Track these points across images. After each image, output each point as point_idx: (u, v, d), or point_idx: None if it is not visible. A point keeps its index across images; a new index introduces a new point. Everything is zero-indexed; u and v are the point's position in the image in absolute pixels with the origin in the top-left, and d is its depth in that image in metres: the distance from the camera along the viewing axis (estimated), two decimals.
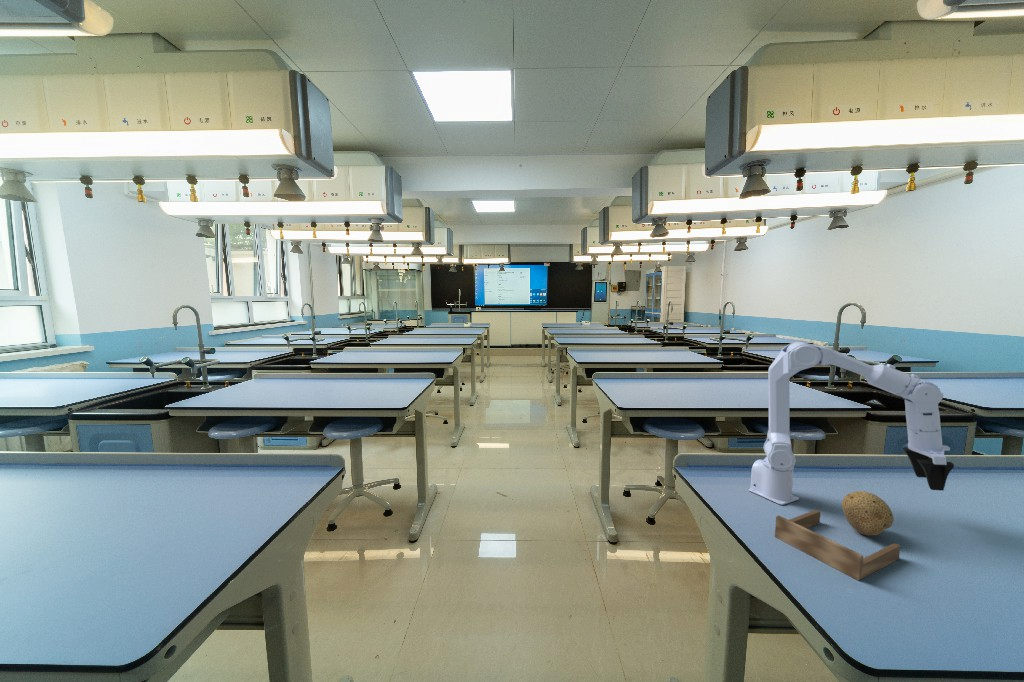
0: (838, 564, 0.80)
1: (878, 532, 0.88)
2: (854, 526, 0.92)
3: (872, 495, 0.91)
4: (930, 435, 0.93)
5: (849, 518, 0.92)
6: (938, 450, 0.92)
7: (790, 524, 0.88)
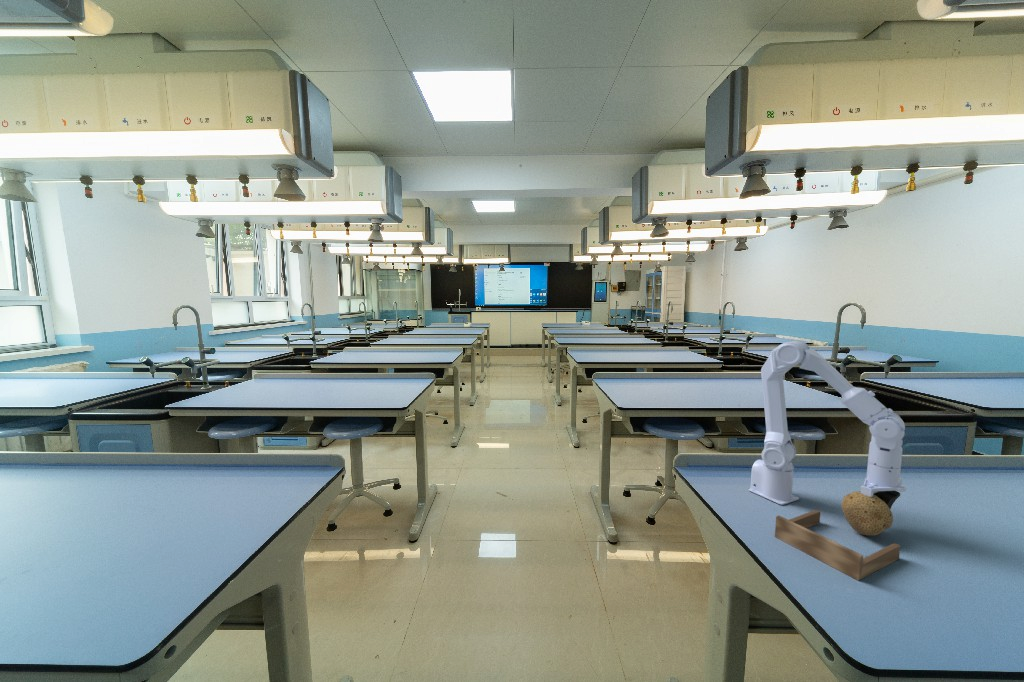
0: (838, 564, 0.80)
1: (877, 532, 0.88)
2: (853, 527, 0.92)
3: None
4: (878, 469, 0.92)
5: (848, 518, 0.92)
6: (883, 486, 0.92)
7: (790, 524, 0.88)
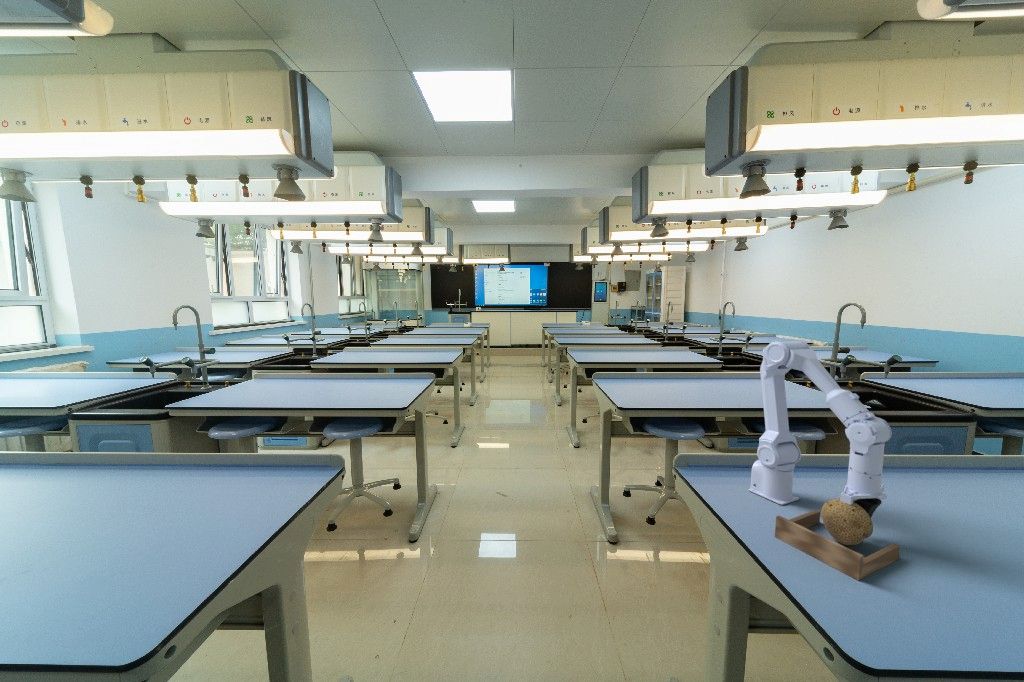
0: (838, 564, 0.80)
1: (857, 542, 0.84)
2: (833, 536, 0.89)
3: None
4: (859, 476, 0.89)
5: (828, 527, 0.89)
6: (864, 493, 0.88)
7: (790, 524, 0.88)
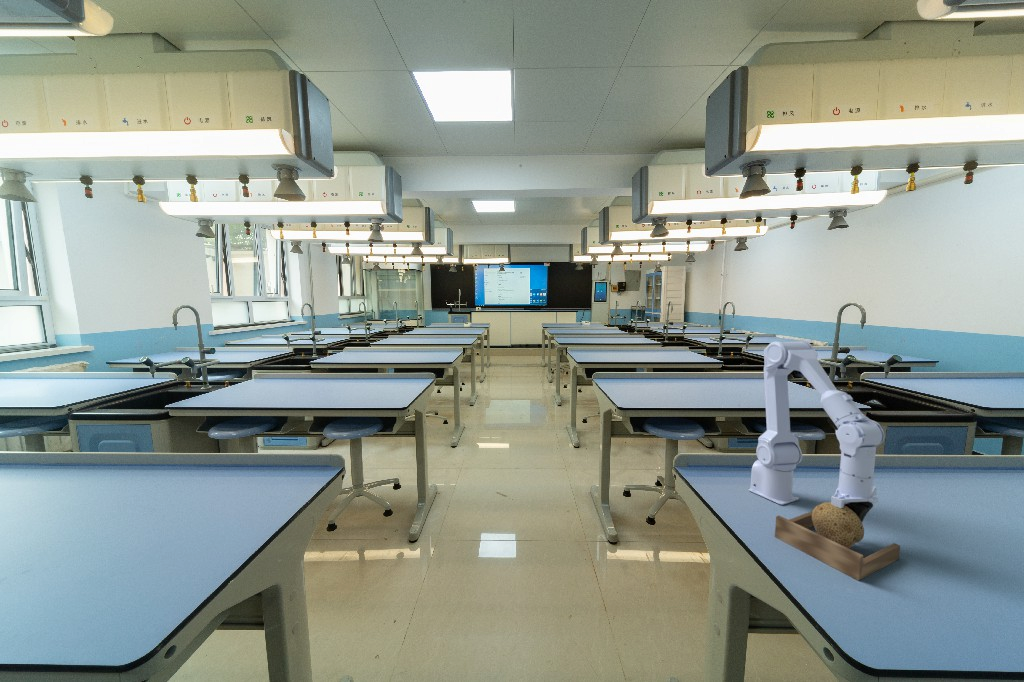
0: (838, 564, 0.80)
1: (847, 546, 0.83)
2: None
3: None
4: (850, 479, 0.87)
5: (818, 531, 0.87)
6: (855, 497, 0.86)
7: (790, 524, 0.88)
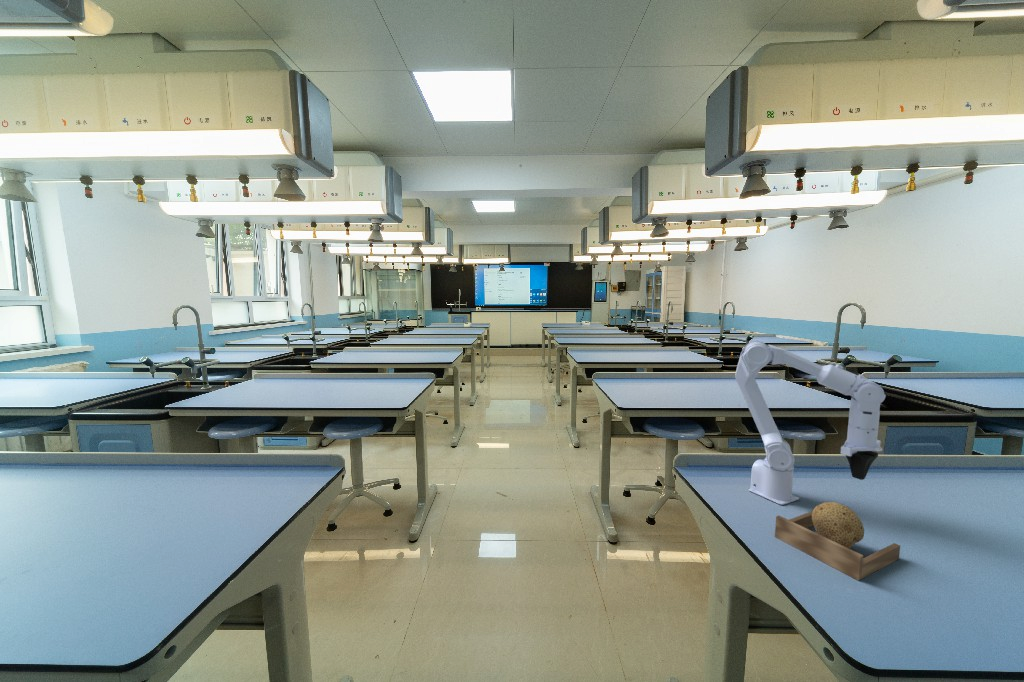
0: (838, 564, 0.80)
1: (847, 546, 0.83)
2: None
3: (842, 506, 0.86)
4: (857, 431, 0.98)
5: (818, 531, 0.87)
6: (862, 447, 0.98)
7: (790, 524, 0.88)
